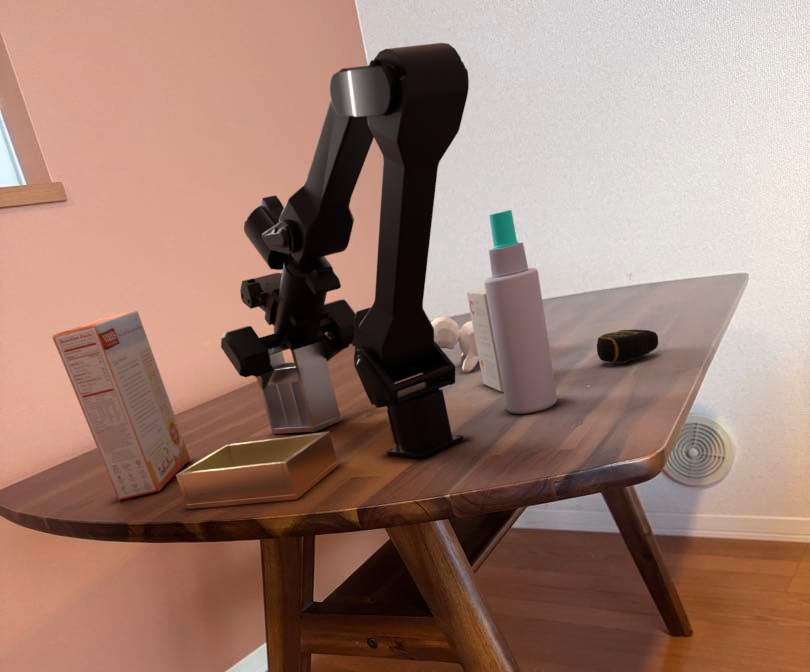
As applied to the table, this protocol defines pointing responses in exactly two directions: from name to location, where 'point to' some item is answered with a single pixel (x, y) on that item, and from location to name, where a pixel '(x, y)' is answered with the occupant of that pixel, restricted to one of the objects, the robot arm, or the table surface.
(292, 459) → the copper metal tray
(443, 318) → the beige lumpy shape
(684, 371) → the table surface
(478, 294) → the small box
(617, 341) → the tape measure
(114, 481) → the cracker box
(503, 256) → the spray bottle
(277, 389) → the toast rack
